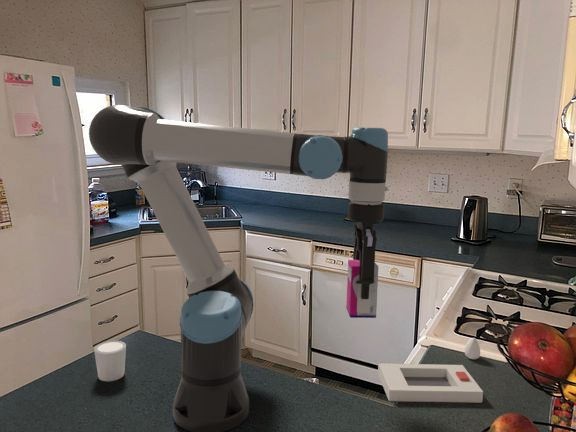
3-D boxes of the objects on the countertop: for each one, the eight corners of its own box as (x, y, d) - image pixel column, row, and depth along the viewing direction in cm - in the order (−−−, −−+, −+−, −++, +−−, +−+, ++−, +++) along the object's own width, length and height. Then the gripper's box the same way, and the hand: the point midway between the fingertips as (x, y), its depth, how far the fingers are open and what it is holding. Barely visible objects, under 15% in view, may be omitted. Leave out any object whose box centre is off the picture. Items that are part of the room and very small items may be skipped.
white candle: (133, 371, 112) (132, 343, 110) (112, 385, 105) (111, 355, 104) (110, 365, 114) (109, 338, 113) (88, 378, 108) (87, 349, 107)
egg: (474, 354, 125) (476, 334, 124) (482, 361, 121) (484, 340, 120) (461, 355, 124) (463, 335, 123) (468, 361, 121) (470, 341, 120)
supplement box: (371, 308, 108) (374, 258, 106) (376, 318, 102) (379, 266, 100) (345, 307, 108) (347, 258, 105) (349, 318, 102) (351, 266, 100)
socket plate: (388, 401, 102) (389, 387, 101) (377, 373, 113) (378, 361, 113) (482, 402, 102) (483, 389, 101) (461, 374, 114) (462, 362, 113)
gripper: (394, 209, 91) (386, 324, 95) (376, 196, 110) (370, 293, 114) (355, 208, 91) (349, 323, 95) (343, 195, 110) (338, 292, 114)
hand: (360, 306), depth 104 cm, fingers closed on supplement box, 6 cm apart
